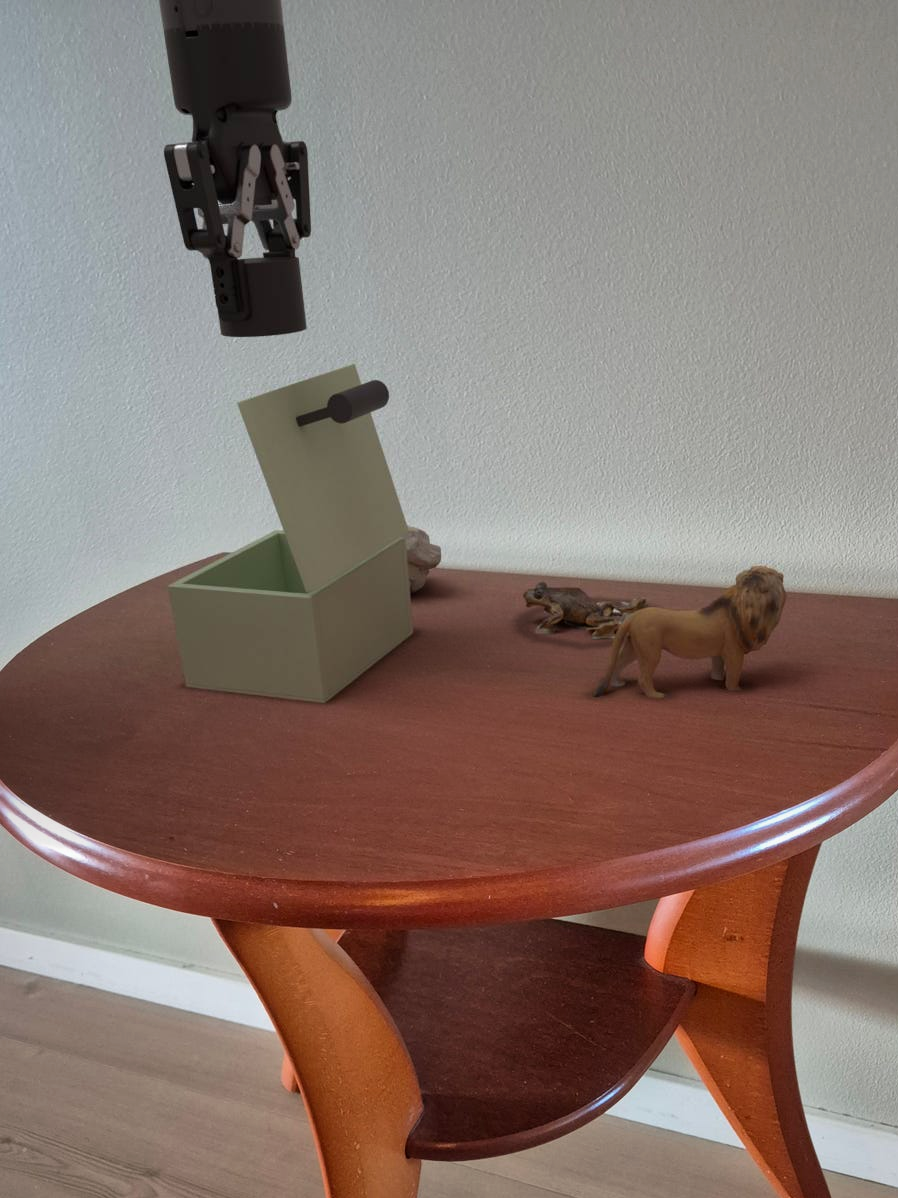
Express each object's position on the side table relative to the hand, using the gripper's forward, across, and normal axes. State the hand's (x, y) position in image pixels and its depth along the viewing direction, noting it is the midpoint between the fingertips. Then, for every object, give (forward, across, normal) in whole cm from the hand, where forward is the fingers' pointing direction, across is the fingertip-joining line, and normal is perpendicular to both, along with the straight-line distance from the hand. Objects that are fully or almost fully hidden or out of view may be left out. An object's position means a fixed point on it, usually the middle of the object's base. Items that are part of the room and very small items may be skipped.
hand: (261, 313), depth 83 cm
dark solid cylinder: (+1, 0, 0) cm, 1 cm away
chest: (+27, -2, -2) cm, 27 cm away
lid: (+11, -2, +3) cm, 12 cm away
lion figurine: (+27, -6, +30) cm, 41 cm away
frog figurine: (+27, -16, +18) cm, 37 cm away
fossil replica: (+27, -21, -4) cm, 35 cm away
